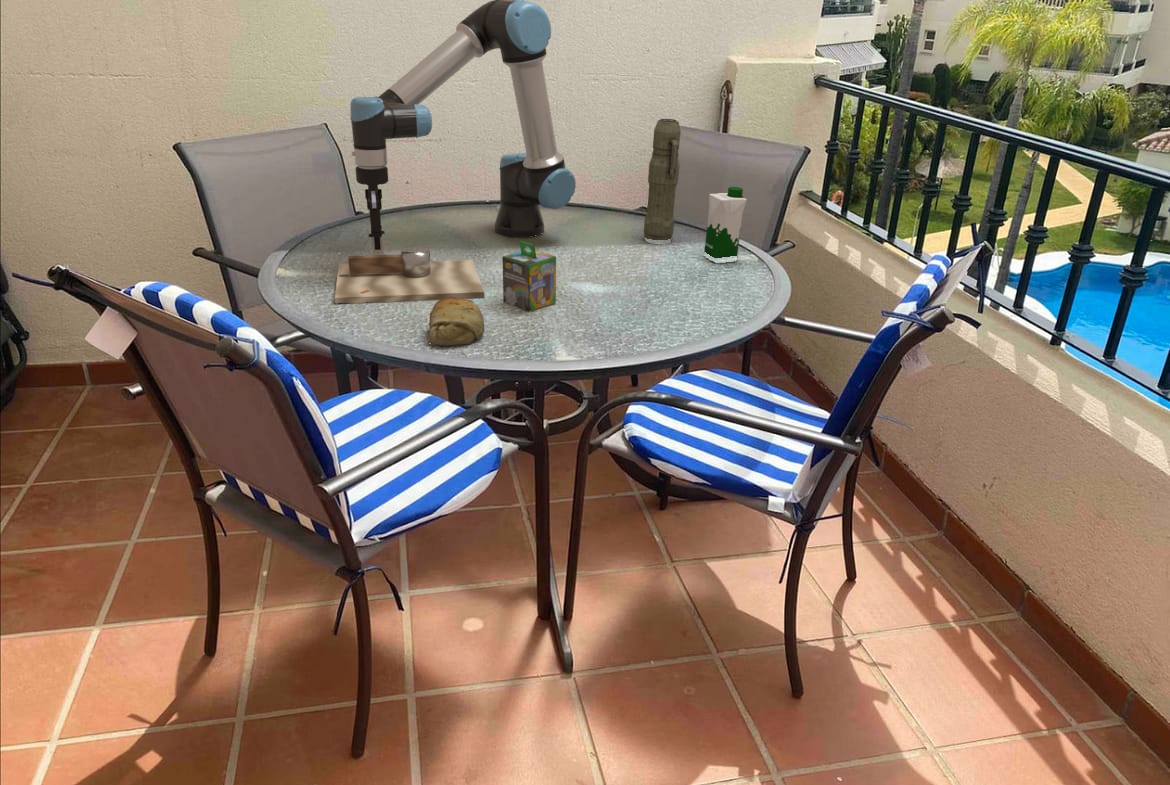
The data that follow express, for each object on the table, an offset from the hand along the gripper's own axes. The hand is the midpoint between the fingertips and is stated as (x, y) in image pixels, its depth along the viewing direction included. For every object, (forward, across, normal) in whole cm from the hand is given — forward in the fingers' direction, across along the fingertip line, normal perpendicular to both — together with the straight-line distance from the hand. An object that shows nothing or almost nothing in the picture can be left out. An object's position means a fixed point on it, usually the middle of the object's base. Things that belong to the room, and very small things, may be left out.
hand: (378, 260), depth 199 cm
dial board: (+3, +10, +7) cm, 12 cm away
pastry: (+3, +44, +15) cm, 47 cm away
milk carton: (+3, -1, +94) cm, 94 cm away
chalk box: (+3, +27, +34) cm, 43 cm away
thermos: (+3, -21, +82) cm, 85 cm away
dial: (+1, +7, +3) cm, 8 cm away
